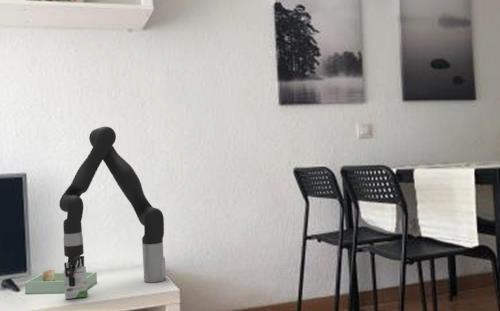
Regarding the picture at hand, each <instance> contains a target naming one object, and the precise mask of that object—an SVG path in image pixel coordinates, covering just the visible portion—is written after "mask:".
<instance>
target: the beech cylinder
mask: <svg viewBox="0 0 500 311" xmlns="http://www.w3.org/2000/svg"><path fill="white" fill-rule="evenodd" d="M55 273H56V271H55V270H53V269H51V270H50V269H48V270H44V271H42V274H43V281H55Z"/></svg>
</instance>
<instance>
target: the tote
mask: <svg viewBox="0 0 500 311" xmlns="http://www.w3.org/2000/svg"><path fill="white" fill-rule="evenodd" d="M97 276H98V275H97V271H86V278H87V290H89V289H90V288H92V287H93V286H95V285H96V284H98V278H97ZM24 290H25V295H33V294H36V295H37V294H65V286H64V272H55V281H43V273H40V274H39V275H37V276H35V277H33V278H30V279H29V280H27V281H24Z"/></svg>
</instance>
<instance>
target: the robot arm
mask: <svg viewBox="0 0 500 311" xmlns="http://www.w3.org/2000/svg"><path fill="white" fill-rule="evenodd" d="M116 137H117V134H116V132H115V130H114V128H112V127H111V126H101V127H98V128H96V129H93V130H92V131H91V132H90V133H89V137H88V138H89V143H90V145H91V146H92V148H91V150H90V152H89V154H88V156H87V157H86V158H85V160H84V161H83V162H82V163H81V165H80V167H78V170H77V172H76V173H75V175H74V177H73V179H72V182H71V183H70V185H69V186H68V187H67V188H66V190H65V191H64V192H63V193H62V195H61V197H60V200H59V202H58V203H59V209H60V210H61V211H62V212H64V213H66V215H67V216H66V219H64V220H63V225H62V226H63V255H64V257H67V258H68V259H67V261H66V262H64V263H63V264H64V265H63V266H64V270H65V275H66V277H68V278H69V286H70V287H74V286H75V272H76V271H77V268H78V267H85V255H83V254H84V252H85V251H84V250H85V249H84V238H83V237H84V236H83V231H82V230H83V228H82V220H83V216H84V215H83V214H84V202H83V199H82V198H81V195H83V194H85V193H87V191H88V190H89V188H90V185H91V184H92V182H93V179H94V177H95V175H96V173H97V171H98V169H99V167H100V165H101V163H102V162H103V163H104V164H105V165H106V167H107V169H108V171H109V172H110V174H111V175H112V177H113V179H114V181H115V182H116V184H117V186H118V187H119V188H120V191H121V192H122V193H123V195H124V196H125V197H126V199H127V200H128V201H129V203H130V204H131V206H132V209H133V210H134V212H135V214H136V216H137V220H138V221H139V223H140V224H141V225H142V226H144V233H143V234H144V235H143V236H142V238H141V240H142V241H141V243H142V244H141V245H142V265H143V282H145V283H159V282H164V280H166V279H167V276H166V275H167V274H166V271H167V270H166V258H165V257H164V240H163V238H164V234H165V221H164V220H165V219H164V213H163V212H162V210H160V209H159V208H157V207H153V205H152V204H151V203H150V201H149V200H148V199H147V198H146V196H145V193H144V190H143V187H142V183H141V181H140V178H139V176H138V175H137V173H136V171H135V170H134V168H133V167H132V166H131V164H129V163H128V161H127V160H125V159H124V158H123V157H122V156H121V155H120V154H119V153H118V152H117V150H116V148H115V147H114V144H115V142H116V140H117V139H116ZM72 272H73V273H72Z"/></svg>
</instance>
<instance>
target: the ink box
mask: <svg viewBox="0 0 500 311" xmlns="http://www.w3.org/2000/svg"><path fill="white" fill-rule="evenodd" d="M86 272H87V268H86V266H84V267H78V268H77V271H76V272H75V286H74V287H70V286H69V278H68V277H66V275H65V269H64V270H63V273H64V286H65V293H64V298H65V300H70V299H76V298H77V299H79V298H84V297H86V298H87V297H88V289H87V278H86ZM72 273H73V272H72Z"/></svg>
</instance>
